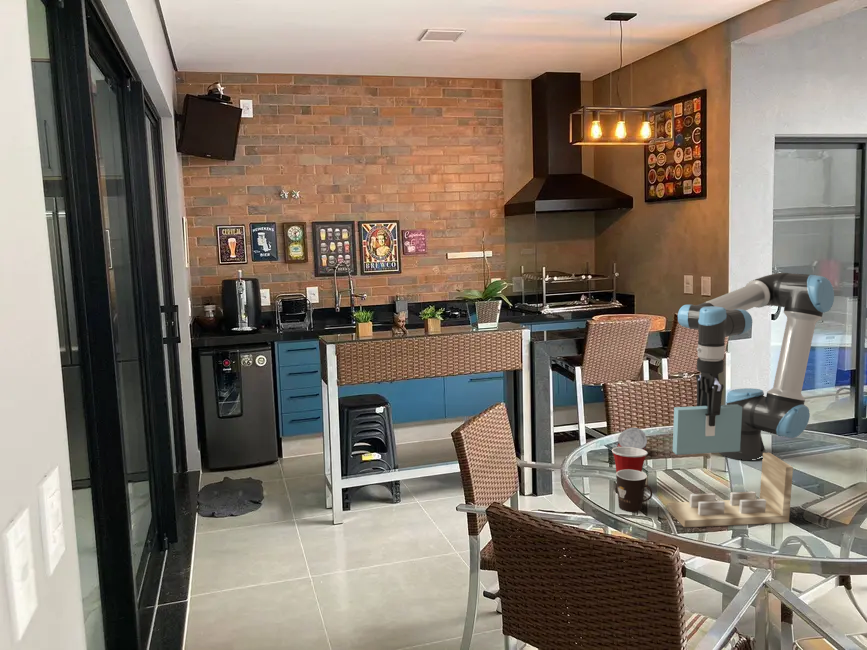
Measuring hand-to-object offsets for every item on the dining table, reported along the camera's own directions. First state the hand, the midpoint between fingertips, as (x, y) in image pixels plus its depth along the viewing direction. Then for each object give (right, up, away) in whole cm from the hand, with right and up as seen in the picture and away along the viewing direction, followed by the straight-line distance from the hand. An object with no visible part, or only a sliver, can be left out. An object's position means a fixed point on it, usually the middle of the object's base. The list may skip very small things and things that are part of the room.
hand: (706, 433), depth 226 cm
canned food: (-13, -13, +36) cm, 41 cm away
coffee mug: (-26, -21, -11) cm, 35 cm away
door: (0, -6, +1) cm, 6 cm away
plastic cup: (-23, -18, +6) cm, 29 cm away
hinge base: (0, -21, -16) cm, 26 cm away
